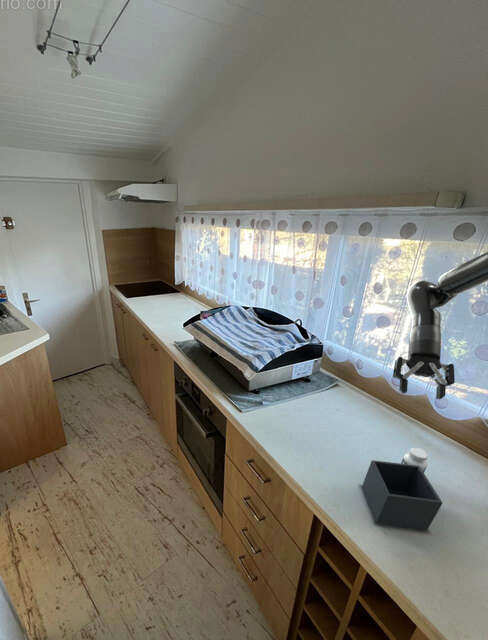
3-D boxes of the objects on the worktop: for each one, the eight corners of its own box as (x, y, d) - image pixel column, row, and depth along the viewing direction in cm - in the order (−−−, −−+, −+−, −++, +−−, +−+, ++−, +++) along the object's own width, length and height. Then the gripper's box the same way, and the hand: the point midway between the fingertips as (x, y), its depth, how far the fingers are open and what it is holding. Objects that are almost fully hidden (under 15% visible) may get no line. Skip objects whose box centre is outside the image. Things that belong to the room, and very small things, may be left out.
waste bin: (406, 492, 82) (419, 465, 78) (426, 531, 73) (442, 503, 68) (361, 486, 84) (371, 460, 80) (375, 523, 75) (388, 495, 70)
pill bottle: (408, 469, 89) (419, 444, 85) (423, 484, 85) (436, 458, 80) (391, 472, 89) (402, 447, 84) (406, 487, 84) (418, 461, 79)
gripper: (401, 335, 89) (397, 387, 85) (461, 341, 85) (459, 397, 81) (392, 344, 96) (388, 394, 92) (446, 351, 92) (444, 403, 88)
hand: (421, 395), depth 86 cm, fingers open, 8 cm apart
